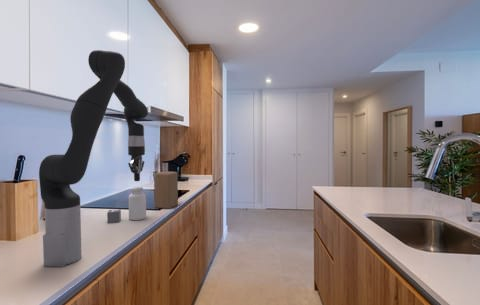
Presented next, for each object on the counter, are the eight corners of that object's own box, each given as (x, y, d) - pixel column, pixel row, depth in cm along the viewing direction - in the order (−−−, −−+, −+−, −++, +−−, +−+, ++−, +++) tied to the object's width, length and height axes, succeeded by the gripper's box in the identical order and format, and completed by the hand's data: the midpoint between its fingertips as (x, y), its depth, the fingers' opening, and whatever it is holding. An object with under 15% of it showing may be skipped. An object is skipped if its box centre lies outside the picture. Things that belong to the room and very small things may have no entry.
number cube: (119, 222, 122) (119, 211, 121) (107, 223, 120) (107, 212, 120) (120, 219, 126) (120, 208, 126) (109, 220, 125) (109, 209, 125)
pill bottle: (131, 221, 122) (131, 190, 122) (126, 218, 128) (126, 187, 128) (148, 218, 127) (148, 188, 127) (143, 215, 133) (142, 186, 133)
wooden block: (153, 208, 148) (153, 173, 147) (163, 204, 158) (163, 171, 157) (169, 209, 145) (168, 173, 145) (178, 205, 155) (178, 171, 154)
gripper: (138, 145, 120) (138, 183, 120) (149, 145, 133) (149, 179, 134) (122, 145, 120) (122, 183, 121) (134, 145, 133) (135, 179, 134)
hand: (137, 180), depth 127 cm, fingers closed
